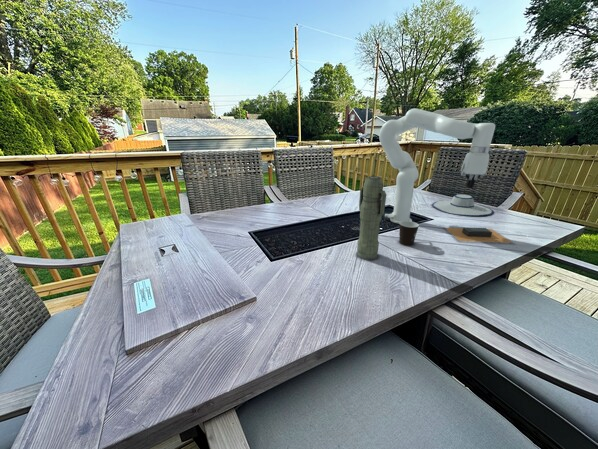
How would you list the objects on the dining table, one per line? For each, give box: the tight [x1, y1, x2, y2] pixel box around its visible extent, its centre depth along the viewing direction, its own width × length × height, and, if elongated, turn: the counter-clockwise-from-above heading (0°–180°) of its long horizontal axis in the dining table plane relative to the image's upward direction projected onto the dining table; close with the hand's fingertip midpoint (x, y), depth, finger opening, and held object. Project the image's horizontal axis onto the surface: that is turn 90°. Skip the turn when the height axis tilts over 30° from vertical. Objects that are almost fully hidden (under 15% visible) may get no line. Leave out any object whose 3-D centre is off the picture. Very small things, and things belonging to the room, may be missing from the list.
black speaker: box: [462, 226, 492, 237], centre depth 128 cm, size 3×6×11 cm
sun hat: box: [431, 193, 494, 217], centre depth 172 cm, size 36×36×9 cm
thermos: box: [356, 175, 387, 261], centre depth 105 cm, size 9×12×35 cm
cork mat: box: [444, 227, 513, 244], centre depth 129 cm, size 24×18×1 cm
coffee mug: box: [398, 221, 420, 247], centre depth 121 cm, size 12×9×10 cm
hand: (469, 187), depth 126 cm, fingers closed
